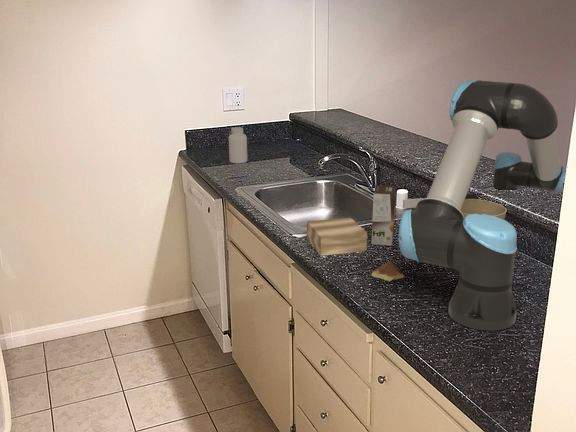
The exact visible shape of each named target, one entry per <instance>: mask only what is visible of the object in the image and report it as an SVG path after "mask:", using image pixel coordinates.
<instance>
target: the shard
mask: <svg viewBox="0 0 576 432" xmlns="http://www.w3.org/2000/svg"><path fill="white" fill-rule="evenodd" d="M371 276H372V277H374V278H378V279H382V280H385V281H388V282H391V281H394V280H398V279H403V278H404V277H405V275H404V273H403V272H402V271H401V270H400V268H399V267H398V266H397V264H395V263H394V261H393V260H392V259H390V260H389V261H387V262H386V263H384V264H383V265H380V266H379V267H377V268H376V269H374V271H372V272H371Z"/></svg>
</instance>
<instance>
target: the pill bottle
mask: <svg viewBox="0 0 576 432" xmlns="http://www.w3.org/2000/svg"><path fill="white" fill-rule="evenodd" d="M230 133H231V134H229V136H228V153H229V156H228V158H229V159H228V160H229V162H230V163H231V164H245V163H247V162H248V139H247V135H246V134H245V133H244V128H243V127H239V126H236V127H231V128H230Z"/></svg>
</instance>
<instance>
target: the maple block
mask: <svg viewBox="0 0 576 432" xmlns="http://www.w3.org/2000/svg"><path fill="white" fill-rule="evenodd" d="M306 240H307V241H308V242H309V243H310V245H311V246H312V247H313V248H314V249H315V251H316V252H317V253H318V254H319V256H329V255H339V254H341V255H342V254H351V253H359V252H360V253H361V252H367V248H368V246H367V245H368V232H367V231H366V230H365V229H364V228H363V227H361V226H360V225H359V224H358V223H357V222H356V220H354V219H353V218H352V217H340V218H330V219H319V220H307V221H306Z"/></svg>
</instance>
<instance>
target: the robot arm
mask: <svg viewBox="0 0 576 432" xmlns="http://www.w3.org/2000/svg"><path fill="white" fill-rule="evenodd" d="M448 112H449V119H450V120H451V123H452V127H453V128H454V129H453V132H452V136H451V137H450V139H449V142H448V145H447V147H446V150H445V151H444V155H443V157H442V159H441V162H440V164H439V166H438V169H437V171H436V173H435V177H434V179H433V181H432V184H431V186H430V189H429V191H428V194H427V195H423V194H422V195H420V198H408V199H405V198H404V199H402V209H404V210H405V209H406V210H405V211H404V212H403V213H402V215H401V217H400V222H399V224H398V225H399V226H398V246H399V251H400V253H401V255H402V256H403V257H404V258H406V259H409V260H412V261H416V262H417V263H424V264H428V265H432V266H433V265H434V266H437V267H442V268H448V269H452V270H456V271H459V273H458V283H457V285H456V287H455V289H454V291H453V293H452V296H451V298H450V300H449V302H448V312H447V313H448V316H449V317H450V318H451V319H452V320H453V321H455V322H456V323H457V324H459V325H461V326H463V327H466V328H469V329H472V330H473V329H474V330H478V331H489V332H492V331H493V332H494V331H502V330H503V331H504V330H506V329H508V328H511V327H512V326H513V325H515V323H516V321H517V307H516V303H515V300H514V299H515V298H514V294H513V291H512V285H513V279H514V278H513V277H514V269H515V259H516V252H517V251H518V250H517V249H518V247H517V240H518V239H517V238H518V237H517V235H518V233H517V230H516V228H515V227H514V226H513V225H512V224H511V223H509V222H508V221H506V220H505V219H504V220H503V219H501V218H498V217H495V216H491V215H486V214H481V215H479V214H471V215H468V216H466V217H465V219H464V216H463V213H462V212H461V208H462V205H463V203H464V200H465V199H479V198H478V197H477V196H476V195H475V194H472V193H473V192H469V189H470V187H471V183H472V181H473V178H474V176H475V173H476V170H477V168H478V165H479V163H480V161H481V157H482V155H483V153H484V149H485V147H486V144H487V142H488V140H491V139H493V138H494V137H495V136H496V135H497V132H498V130H499V129H506V130H515V131H519V132H520V134H521V135H522V136H523V137H524V138H525V140H526V144H527V149H528V152H529V156H530V157H529V158H530V160H531V162H528V161H522V156H521V155H520V154H519V153H515V152H507V151H506V152H500V153H498V154H496V156H495V162H494V167H493V178H492V179H493V180H492V188H493V187H494V188H495V189H498V190H516V189H518V190H519V187H524V188H531V189H536V190H537V189H539V190H543V191H549V192H550V191H551V192H560V193H563V192H562V191H563V183H564V178H565V170H566V166H564V165H562V164H561V159H560V152H559V146H558V140H557V136H556V135H557V134H556V131H557V128H558V125H559V123H558V122H559V121H558V113H557V111H556V109H555V108H554V106H553V104H552V103H551V101H550V99H548V97H546V96H545V95H544V94H543V93H542V92H541V91H539V90H538V89H536V88H535V87H533V86H531V85H528V84H525V83H521V82H515V83H514V82H502V81H491V80H490V81H489V80H481V79H474V80H473V79H472V80H469V79H468V80H464V81H461V83H460V84H458V86H457V87H456V89H454V92H453V94H452V96H451V103H450V104H449V111H448ZM468 192H469V193H468ZM413 208H415V209H413Z"/></svg>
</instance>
